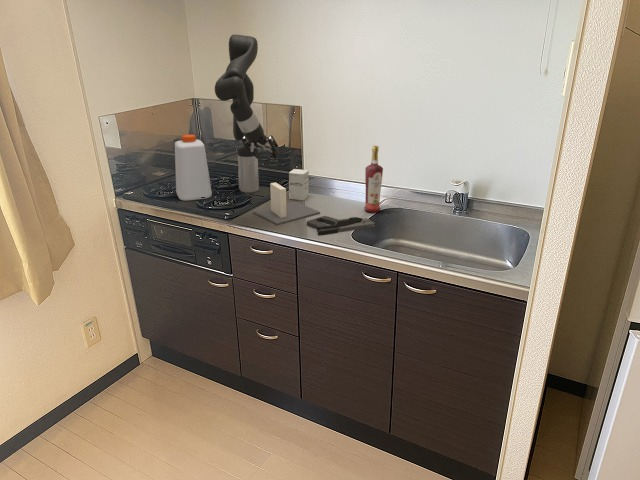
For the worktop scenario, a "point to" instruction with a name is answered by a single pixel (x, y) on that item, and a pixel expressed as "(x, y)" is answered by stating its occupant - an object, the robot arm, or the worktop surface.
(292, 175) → the supplement box
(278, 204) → the tile
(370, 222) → the pistol
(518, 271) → the worktop surface
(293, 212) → the mat
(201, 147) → the plastic bottle
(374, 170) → the liquor
